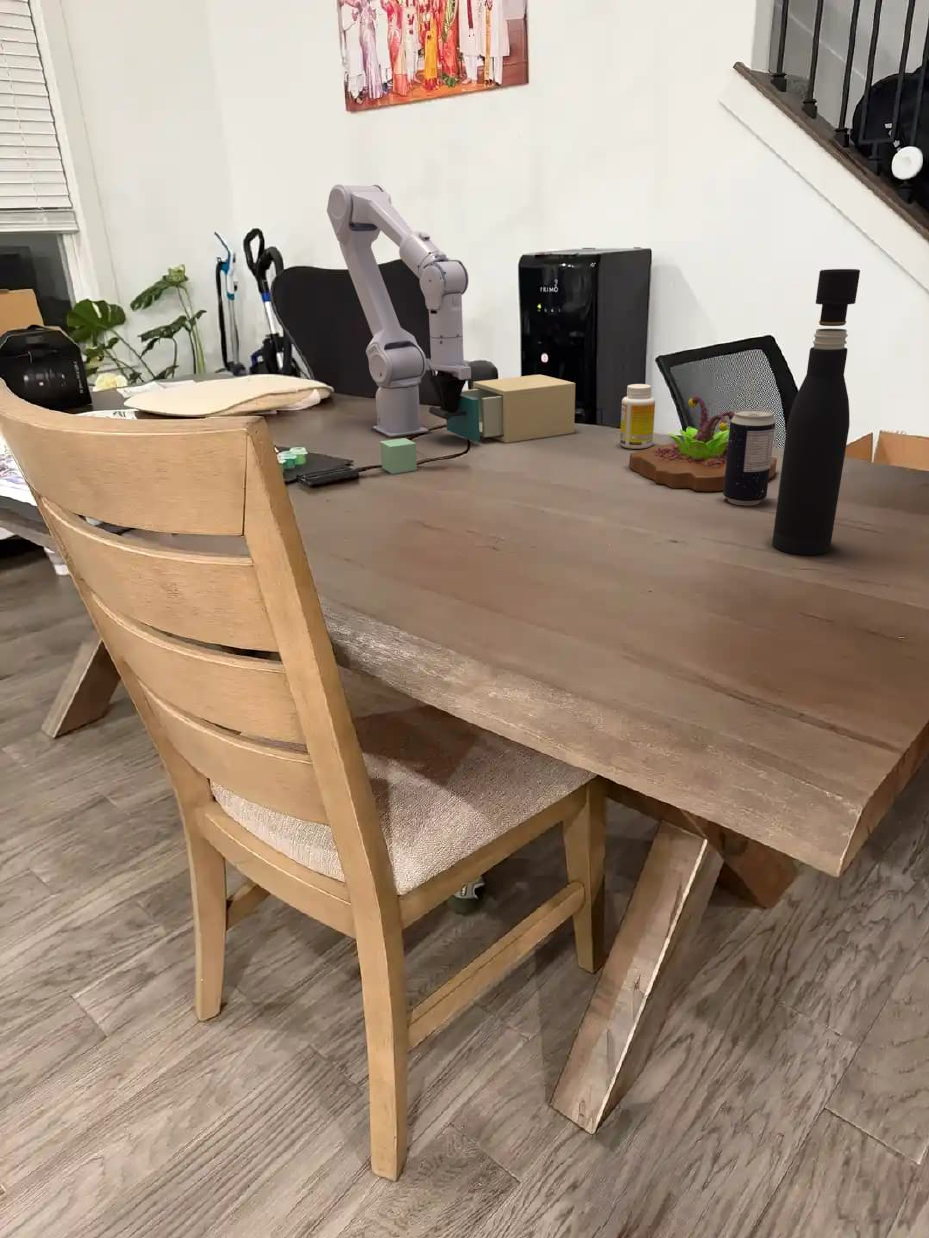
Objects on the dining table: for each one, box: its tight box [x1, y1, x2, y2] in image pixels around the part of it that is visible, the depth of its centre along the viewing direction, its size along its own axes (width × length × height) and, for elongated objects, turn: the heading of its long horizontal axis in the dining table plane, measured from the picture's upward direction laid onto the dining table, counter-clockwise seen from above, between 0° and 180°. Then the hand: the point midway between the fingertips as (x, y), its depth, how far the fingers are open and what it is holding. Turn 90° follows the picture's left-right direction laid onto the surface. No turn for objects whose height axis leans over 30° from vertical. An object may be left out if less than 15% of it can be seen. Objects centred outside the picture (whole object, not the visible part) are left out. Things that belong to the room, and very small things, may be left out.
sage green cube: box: [379, 437, 418, 475], centre depth 136 cm, size 4×4×4 cm
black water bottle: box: [771, 268, 861, 556], centre depth 93 cm, size 6×6×30 cm
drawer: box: [428, 388, 503, 443], centre depth 154 cm, size 18×11×7 cm, turn 116°
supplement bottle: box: [619, 383, 656, 450], centre depth 144 cm, size 6×6×10 cm
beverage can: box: [722, 408, 776, 506], centre depth 113 cm, size 6×6×12 cm
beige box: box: [472, 374, 576, 444], centre depth 158 cm, size 15×13×9 cm
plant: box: [628, 395, 778, 492], centre depth 128 cm, size 20×20×11 cm
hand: (449, 415), depth 152 cm, fingers closed, pressing on drawer
